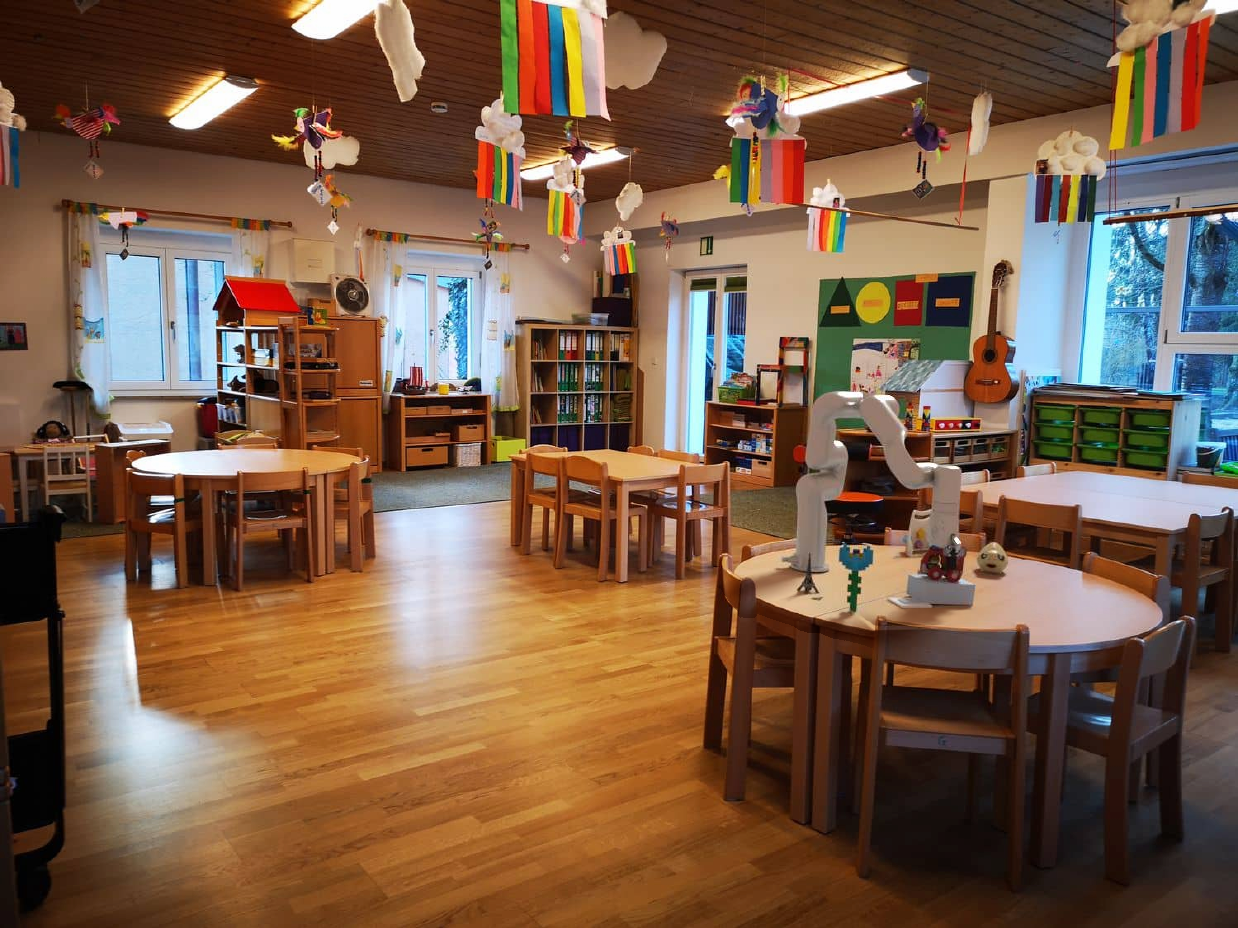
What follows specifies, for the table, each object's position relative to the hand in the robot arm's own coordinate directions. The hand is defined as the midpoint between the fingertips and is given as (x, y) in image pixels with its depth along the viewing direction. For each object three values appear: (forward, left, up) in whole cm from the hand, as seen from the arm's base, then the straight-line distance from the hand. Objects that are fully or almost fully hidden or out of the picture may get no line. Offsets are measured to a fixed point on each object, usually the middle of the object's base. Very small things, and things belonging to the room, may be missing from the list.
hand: (941, 565), depth 257 cm
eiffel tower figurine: (-36, +12, -11) cm, 39 cm away
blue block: (0, 0, -10) cm, 10 cm away
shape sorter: (+27, +59, -11) cm, 66 cm away
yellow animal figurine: (+37, +32, -10) cm, 50 cm away
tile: (-11, -3, -10) cm, 15 cm away
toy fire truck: (0, 0, -4) cm, 4 cm away
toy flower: (-31, -9, -10) cm, 34 cm away
